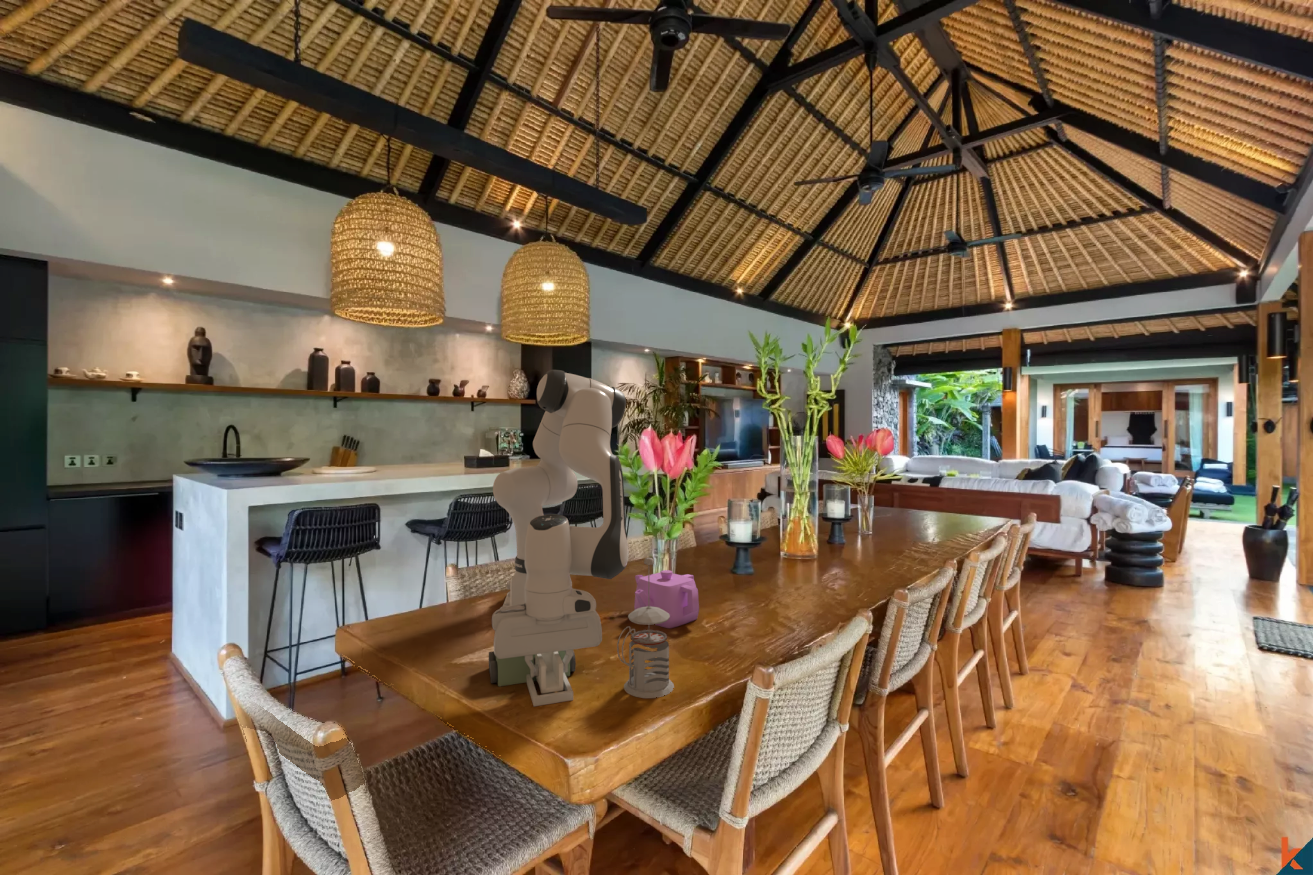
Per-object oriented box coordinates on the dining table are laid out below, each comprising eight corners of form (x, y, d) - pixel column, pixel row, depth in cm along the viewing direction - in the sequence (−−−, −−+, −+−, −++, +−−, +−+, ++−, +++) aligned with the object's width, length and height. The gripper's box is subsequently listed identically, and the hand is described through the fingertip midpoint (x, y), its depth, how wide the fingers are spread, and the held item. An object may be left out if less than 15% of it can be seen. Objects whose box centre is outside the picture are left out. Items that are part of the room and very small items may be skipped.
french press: (684, 688, 109) (684, 559, 109) (633, 706, 103) (633, 567, 102) (655, 670, 117) (655, 549, 117) (606, 685, 111) (605, 557, 110)
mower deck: (488, 666, 119) (488, 623, 119) (566, 655, 125) (566, 615, 125) (495, 712, 100) (495, 661, 100) (587, 697, 106) (587, 649, 106)
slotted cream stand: (535, 675, 112) (535, 650, 112) (555, 672, 113) (555, 647, 113) (541, 693, 104) (541, 666, 104) (563, 690, 106) (563, 663, 106)
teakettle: (701, 629, 141) (701, 579, 141) (632, 629, 141) (632, 579, 141) (696, 607, 158) (696, 563, 158) (634, 607, 158) (635, 563, 158)
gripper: (493, 613, 102) (493, 689, 102) (604, 601, 109) (604, 672, 109) (490, 602, 108) (491, 674, 108) (596, 591, 115) (596, 659, 115)
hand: (548, 673), depth 109 cm, fingers open, 4 cm apart
